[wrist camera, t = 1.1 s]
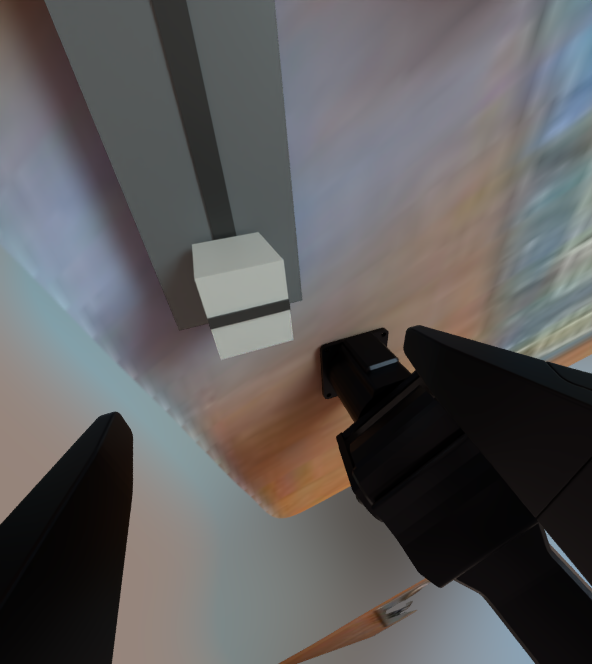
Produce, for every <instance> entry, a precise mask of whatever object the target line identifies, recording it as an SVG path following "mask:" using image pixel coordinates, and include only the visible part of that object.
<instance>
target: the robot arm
mask: <svg viewBox="0 0 592 664" xmlns="http://www.w3.org/2000/svg"><path fill="white" fill-rule="evenodd" d="M382 333H383V334H382ZM387 341H388V331H387V330H386V329H385V328H379V329H376V330H372V331H369V332H366V333H362V334H359V335H355V336H352V337H348V338H345V339H341V340H338V341H334V342H331V343H327V344H324V345H323V346H322V347H321V348H320V357H321V374H322V392H323V396H324V398H325V399H330V398H333V397H336V396H338V397H339V398H340V400H341V402H342V403H343V405H344V407H345V408H346V410H347V411H348V413H349V415H350V416H351V418H352V419H353V421H354V423H353V424H352V425H351V426H350V427H349V428H347V429H346V430H345V431H344V432H343V433H342V432H341V433H340V434H339V435H337V436H336V439H337V442H338V445H339V450H340V453H341V456H342V459H343V463H344V466H345V469H346V472H347V475H348V478H349V481H350V484H351V487H352V490H353V492H354V494H355V495H356V498H357V500H358V502H359V503H361V504H362V505H364V506H365V507H366V509H367V510H368V511H369V512H370V513H371V514H372V515H373V516H374V517H375V518H376V519H378V520H379V521H381V522H384V523H385V525H386V526H387V527H388V528H389V530H390V531H391V532H392V534H393V535H394V536H395V538H396V539H397V540H398V542H399V543H400V545H401V546H402V548H403V549H404V551H405V552H406V554H407V555H408V557H409V559H410V560H411V562H412V563H413V565H414V566H415V568H416V569H417V571H418V572H419V573H420V574H421V575H423V576H424V577H425V578H426V579H428V580H429V581H430V582H432V583H433V584H434V585H436V586H437V587H440V588H442V587H444V586H445V585H446V584H448V583H449V582H451V581H453V580H455V581H456V582H458V583H460V584H462V585H464V586H466V587H468V588H470V589H472V590H474V591H475V592H477V593H479V594H480V595H482V597H483V598H484V599H485V600H486V601H487V603H488V604H489V605H490V606H491V607H492V609H493V610H494V611H495V613H496V614H497V615H498V616H499V618H500V619H501V620H502V622H503V623H504V624H505V625H506V627H507V628H508V629H509V631H510V632H511V633H512V634H513V636H514V637H515V638H516V640H517V641H518V642H519V643H520V645H521V646H522V647H523V649H524V650H525V651H526V652H527V653H528V655H529V656H530V657H531V659H532V660H533V661H534V663H535V664H592V588H591V587H590V586H589V585H588V584H587V583H586V582H585V581H584V580H583V579H582V578H581V577H580V576H579V574H577V572H575V570H574V569H573V568H572V567H571V566H570V565H569V564H568V563H567V562H566V561H565V560H564V559H563V558H562V557H561V555H560V554H559V553H558V552H557V551H556V550H555V549H554V548H553V547H552V546H551V545H550V544H549V542H548V539H547V536H546V533H545V530H546V531H547V533H548V534H549V535H550V536H551V537H552V539H553V540H554V541H555V542H556V544H557V545H558V546H559V547H560V548H561V549H562V551H563V552H564V553H565V554H566V556H567V557H568V558H569V559H570V560H571V562H572V563H573V564H574V565H575V567H576V568H577V569H578V570H579V571H580V573H581V574H582V575H583V576H584V577H585V578H586V580H587V581H588V582H589V583H590V585H591V586H592V374H591V373H587V372H583V371H580V370H576V369H572V368H569V367H565V366H562V365H558V364H555V363H551V362H545V361H544V360H540V359H537V358H533V357H530V356H526V355H523V354H519V353H516V352H512V351H509V350H505V349H502V348H498V347H495V346H491V345H488V344H484V343H481V342H477V341H474V340H470V339H467V338H463V337H460V336H456V335H452V334H449V333H445V332H442V331H438V330H435V329H431V328H428V327H424V326H421V325H417V326H413V327H410V328H408V329H407V330H406V334H405V340H404V347H403V348H404V353H405V355H406V356H407V358H408V359H409V361H410V362H411V364H412V365H413V367H414V368H415V371H414V372H413V373H412V374H411V373H410V372H409V371H408V370H407V369H406V368H405V367H404V366H403V365H402V364H401V363H400V362H399V359H398V358H397V357H396V356H395V355H394V354H393V353H392V352H391V351H390V350H389V349H388V348H387ZM326 349H328V350H326ZM325 350H326V351H325ZM132 492H133V434H132V431H131V429H130V428H129V426H128V425H127V423H126V422H125V420H124V419H123V417H122V416H121V414H120V413H118V412H111V413H108V414H104V415H101V416H100V417H98V418H97V419H96V420H95V422H94V423H93V424H92V425H91V426H90V427H89V428H88V429H87V430H86V431H85V432H84V433H83V434H82V436H81V437H80V438H79V439H78V440H77V441H76V442H75V443H74V444H73V445H72V447H71V448H70V449H69V450H68V451H67V452H66V453H65V454H64V455H63V457H62V458H61V459H60V460H59V461H58V462H57V463H56V464H55V465H54V467H52V469H51V470H50V471H49V472H48V473H47V474H46V475H45V476H44V477H43V478H42V480H41V481H40V482H39V483H38V484H37V485H36V486H35V487H34V488H33V489H32V491H31V492H30V493H29V494H28V495H27V496H26V497H25V498H24V499H23V500H22V501H21V502H20V504H19V505H18V506H17V507H16V508H15V509H14V510H13V511H12V513H10V515H9V516H8V517H7V518H6V519H5V520H4V521H3V522H2V523H1V524H0V664H112V657H113V649H114V641H115V633H116V625H117V617H118V609H119V601H120V593H121V584H122V575H123V568H124V560H125V552H126V543H127V535H128V527H129V519H130V511H131V502H132ZM544 529H545V530H544Z"/></svg>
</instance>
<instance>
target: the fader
mask: <svg viewBox="0 0 592 664" xmlns="http://www.w3.org/2000/svg"><path fill="white" fill-rule="evenodd" d="M192 252H193V266H194V279H195V282H196V285H197V288H198V291H199V294H200V297H201V301H202V304H203V307H204V310H205V313H206V316H207V319H208V323H209V326H210V329H211V331H212V334H213V337H214V340H215V343H216V346H217V349H218V352H219V355H220V358H221V360H223V359H226V358H230V357H234V356H237V355H241V354H244V353H248V352H252V351H255V350H259V349H262V348H266V347H270V346H273V345H277V344H280V343H284V342H288V341H291V340H293V332H292V324H291V315H290V303H289V299H288V291H287V283H286V275H285V267H284V260H283V259H282V258H281V257H280V256H279V254H278V253H277V252H276V251H275V250H274V249H273V248H272V247H271V245H270V244H269V243H268V242H267V241H266V240H265V239H264V238H263V237H262V235H261V234H260V233H259V232H256V233H251V234H245V235H240V236H234V237H229V238H224V239H218V240H213V241H208V242H202V243H197V244H192Z"/></svg>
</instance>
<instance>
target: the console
mask: <svg viewBox="0 0 592 664" xmlns="http://www.w3.org/2000/svg"><path fill="white" fill-rule="evenodd" d="M44 1H45V3H46V6H47V8H48V11H49V13H50V15H51V18H52V20H53V23H54V25H55V28H56V30H57V33H58V35H59V37H60V40H61V42H62V45H63V47H64V50H65V52H66V55H67V57H68V59H69V62H70V64H71V67H72V69H73V72H74V74H75V77H76V79H77V81H78V84H79V86H80V89H81V91H82V94H83V96H84V99H85V101H86V103H87V106H88V108H89V111H90V113H91V116H92V118H93V121H94V123H95V125H96V128H97V130H98V133H99V135H100V138H101V140H102V143H103V145H104V147H105V150H106V152H107V155H108V157H109V160H110V162H111V165H112V167H113V169H114V172H115V174H116V177H117V179H118V182H119V184H120V187H121V189H122V191H123V194H124V196H125V199H126V201H127V204H128V206H129V209H130V211H131V213H132V216H133V218H134V221H135V223H136V226H137V228H138V231H139V233H140V235H141V238H142V240H143V243H144V245H145V248H146V250H147V253H148V255H149V257H150V260H151V262H152V265H153V267H154V270H155V272H156V275H157V277H158V279H159V282H160V284H161V287H162V289H163V292H164V294H165V297H166V299H167V301H168V304H169V306H170V309H171V311H172V314H173V316H174V319H175V321H176V323H177V326H178V328H179V331H180V330H184V329H188V328H192V327H196V326H200V325H204V324H208V319H207V316H206V313H205V310H204V307H203V304H202V301H201V297H200V294H199V291H198V288H197V285H196V282H195V279H194V266H193V252H192V244H197V243H202V242H208V241H213V240H218V239H224V238H229V237H234V236H240V235H245V234H251V233H256V232H259V233H260V234H261V235H262V237H263V238H264V239H265V240H266V241H267V242H268V243H269V244H270V245H271V247H272V248H273V249H274V250H275V251H276V252H277V253H278V254H279V256H280V257H281V258H282V259H283V260H284V267H285V275H286V283H287V291H288V299H289V303H293V302H297V301H301V300H302V292H301V282H300V271H299V260H298V249H297V238H296V228H295V217H294V206H293V195H292V184H291V173H290V163H289V152H288V141H287V130H286V119H285V109H284V98H283V87H282V76H281V65H280V55H279V44H278V33H277V22H276V11H275V1H274V0H44Z"/></svg>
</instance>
